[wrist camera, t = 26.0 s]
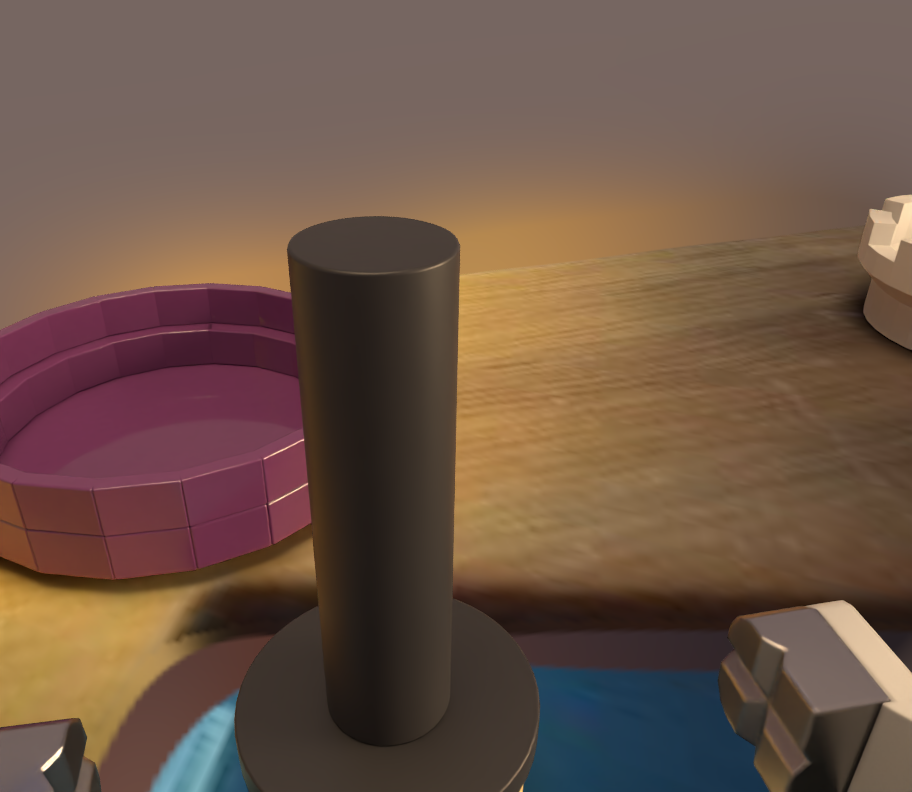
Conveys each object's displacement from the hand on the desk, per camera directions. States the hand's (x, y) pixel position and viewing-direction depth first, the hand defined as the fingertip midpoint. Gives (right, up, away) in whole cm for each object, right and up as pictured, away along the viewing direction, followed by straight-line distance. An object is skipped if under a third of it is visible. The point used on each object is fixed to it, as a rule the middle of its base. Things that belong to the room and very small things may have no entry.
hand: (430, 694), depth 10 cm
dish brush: (-1, -6, +9) cm, 11 cm away
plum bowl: (-10, +1, +21) cm, 24 cm away
